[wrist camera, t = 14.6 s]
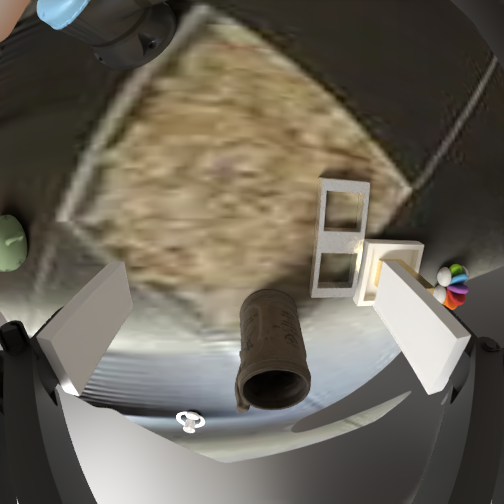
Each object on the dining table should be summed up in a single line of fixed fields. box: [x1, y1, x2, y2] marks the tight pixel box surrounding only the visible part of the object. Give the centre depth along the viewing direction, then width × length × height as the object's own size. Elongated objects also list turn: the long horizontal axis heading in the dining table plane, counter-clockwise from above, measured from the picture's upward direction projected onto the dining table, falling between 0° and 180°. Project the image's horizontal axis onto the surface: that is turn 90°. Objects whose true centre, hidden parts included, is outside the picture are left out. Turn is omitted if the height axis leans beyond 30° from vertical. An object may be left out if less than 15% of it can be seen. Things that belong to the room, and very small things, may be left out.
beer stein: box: [235, 290, 311, 413], centre depth 42 cm, size 15×10×20 cm
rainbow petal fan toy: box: [433, 264, 469, 310], centre depth 45 cm, size 8×10×7 cm
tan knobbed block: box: [374, 259, 435, 295], centre depth 41 cm, size 5×5×12 cm
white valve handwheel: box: [176, 412, 205, 433], centre depth 61 cm, size 9×8×4 cm
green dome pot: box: [0, 215, 27, 271], centre depth 41 cm, size 16×13×9 cm
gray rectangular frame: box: [309, 177, 370, 298], centre depth 44 cm, size 20×8×2 cm, turn 179°
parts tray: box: [353, 239, 424, 306], centre depth 46 cm, size 12×12×2 cm
